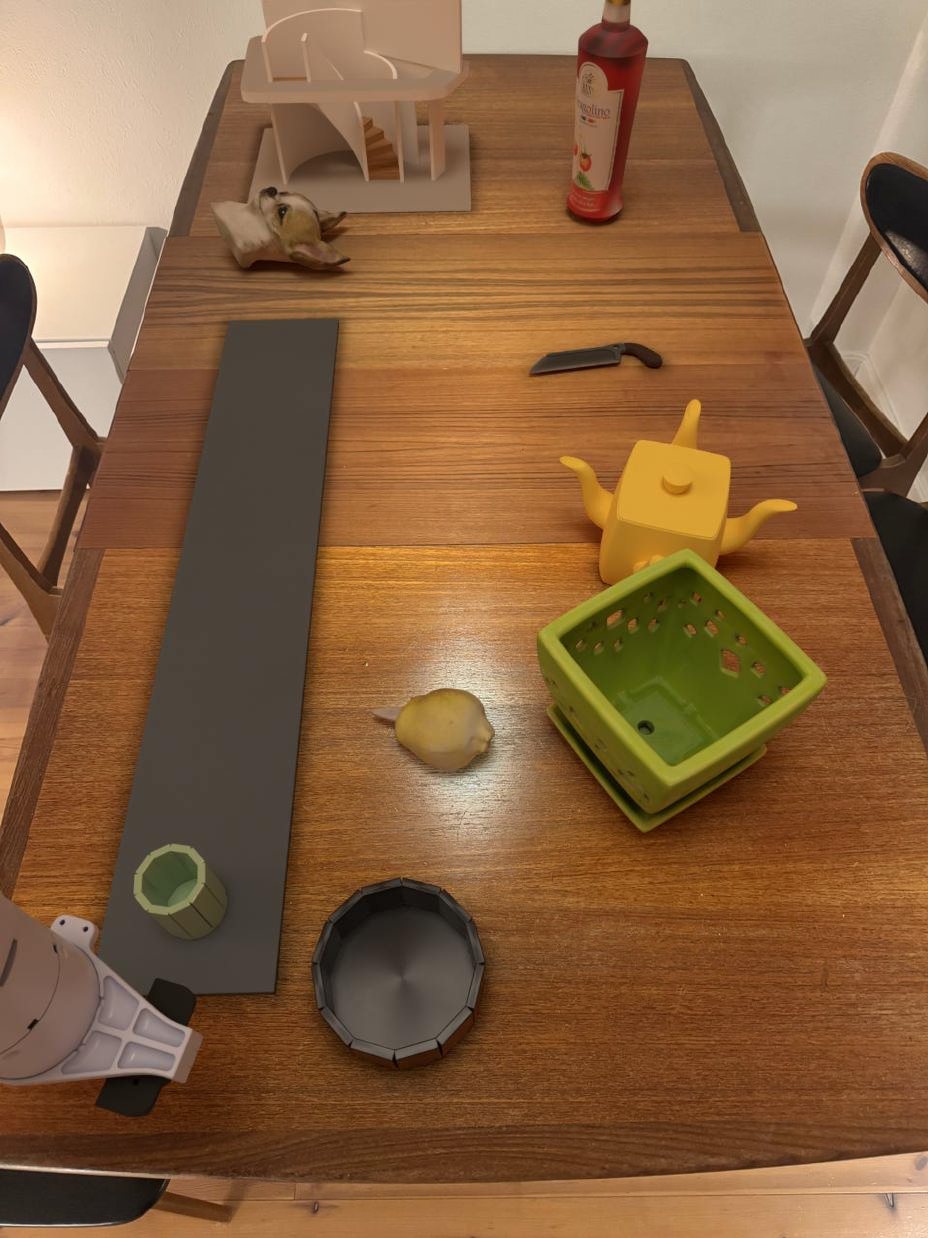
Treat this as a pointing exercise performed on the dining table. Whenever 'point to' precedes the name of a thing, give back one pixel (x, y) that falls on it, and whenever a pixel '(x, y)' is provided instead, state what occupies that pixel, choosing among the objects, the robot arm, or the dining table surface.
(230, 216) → the ceramic sculpture
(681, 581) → the flower pot
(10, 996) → the robot arm
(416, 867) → the dining table surface
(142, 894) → the small pot
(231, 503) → the mat
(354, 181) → the architectural model
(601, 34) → the liquor
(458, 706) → the fruit
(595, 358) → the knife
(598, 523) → the teapot
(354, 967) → the large pot
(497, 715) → the dining table surface
